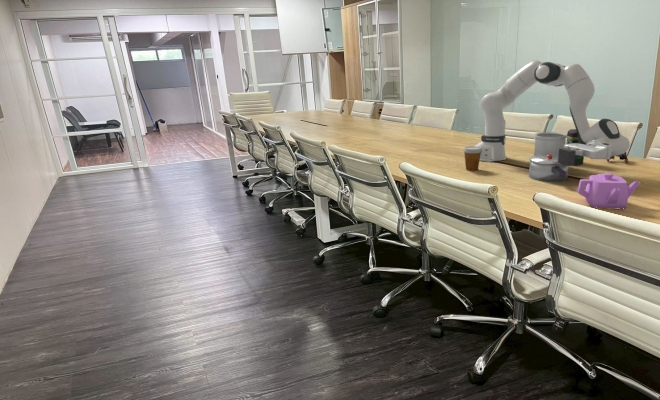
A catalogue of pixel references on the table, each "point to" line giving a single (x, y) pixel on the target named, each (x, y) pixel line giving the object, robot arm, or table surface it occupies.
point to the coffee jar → (573, 138)
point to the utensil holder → (549, 143)
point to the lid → (556, 158)
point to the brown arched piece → (621, 157)
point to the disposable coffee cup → (472, 157)
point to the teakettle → (606, 190)
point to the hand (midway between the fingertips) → (569, 152)
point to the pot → (548, 172)
